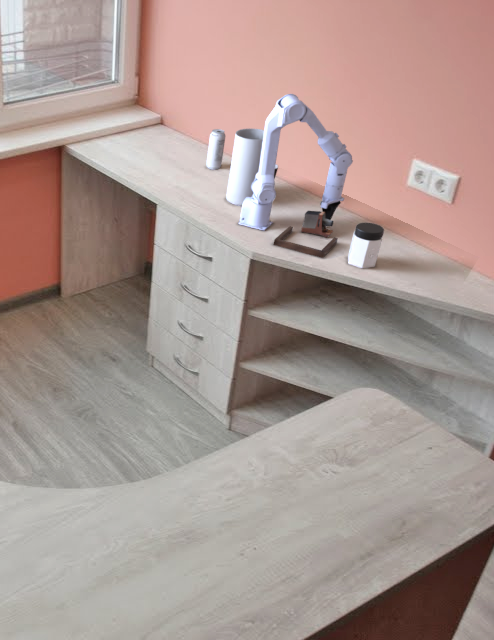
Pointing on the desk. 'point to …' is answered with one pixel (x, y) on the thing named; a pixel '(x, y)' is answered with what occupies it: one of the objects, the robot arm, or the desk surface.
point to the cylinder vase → (244, 164)
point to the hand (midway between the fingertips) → (326, 221)
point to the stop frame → (300, 248)
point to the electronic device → (316, 223)
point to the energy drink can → (215, 149)
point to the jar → (365, 245)
